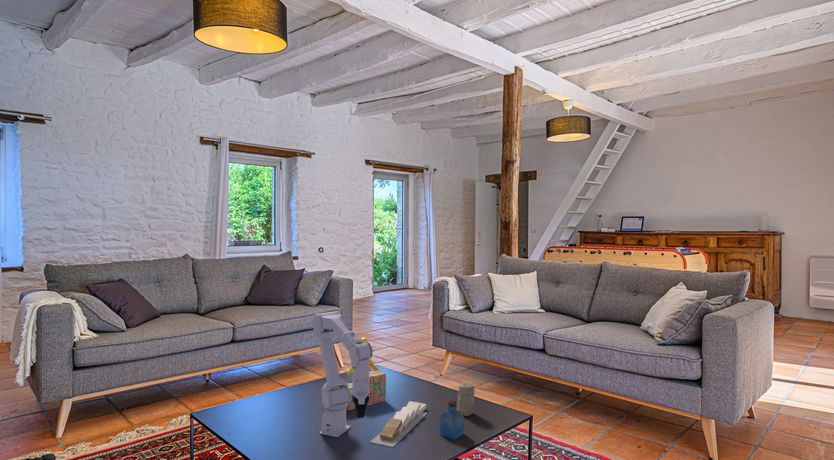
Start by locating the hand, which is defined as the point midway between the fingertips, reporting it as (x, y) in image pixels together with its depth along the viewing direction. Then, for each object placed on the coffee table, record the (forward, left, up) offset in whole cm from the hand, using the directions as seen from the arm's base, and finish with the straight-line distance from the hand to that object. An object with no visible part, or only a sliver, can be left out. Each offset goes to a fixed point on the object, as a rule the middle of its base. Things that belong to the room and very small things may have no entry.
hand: (360, 417), depth 166 cm
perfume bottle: (+22, -26, -11) cm, 36 cm away
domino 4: (+31, -6, -9) cm, 33 cm away
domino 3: (+25, -6, -9) cm, 27 cm away
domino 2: (+19, -6, -9) cm, 22 cm away
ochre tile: (+8, -6, -9) cm, 13 cm away
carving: (+42, -25, -11) cm, 50 cm away
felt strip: (+20, -6, -10) cm, 23 cm away
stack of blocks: (+34, +19, -11) cm, 40 cm away
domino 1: (+14, -6, -9) cm, 18 cm away
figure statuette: (+59, +32, -11) cm, 68 cm away
